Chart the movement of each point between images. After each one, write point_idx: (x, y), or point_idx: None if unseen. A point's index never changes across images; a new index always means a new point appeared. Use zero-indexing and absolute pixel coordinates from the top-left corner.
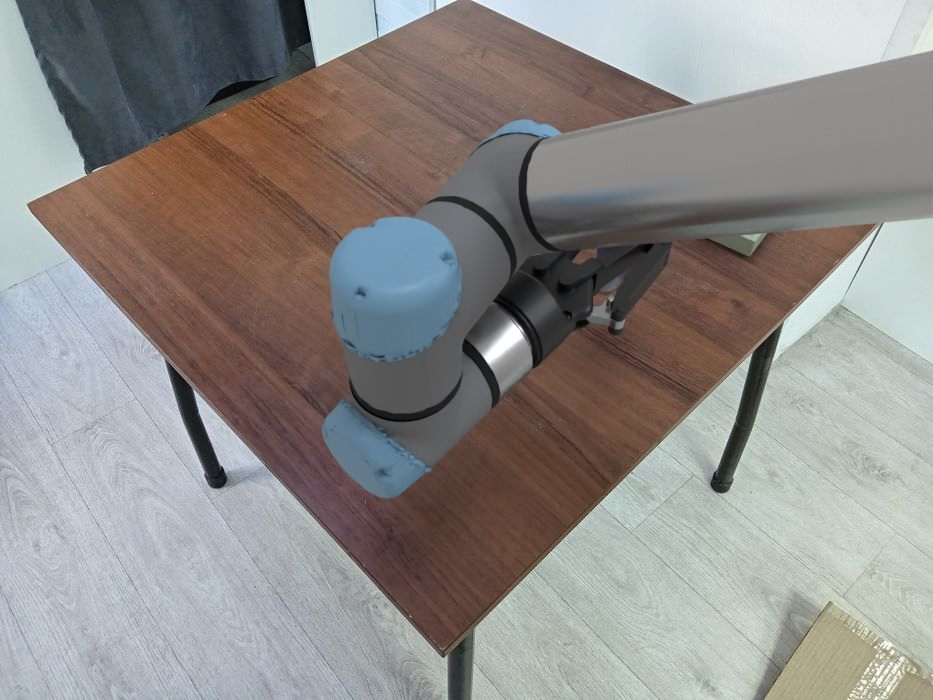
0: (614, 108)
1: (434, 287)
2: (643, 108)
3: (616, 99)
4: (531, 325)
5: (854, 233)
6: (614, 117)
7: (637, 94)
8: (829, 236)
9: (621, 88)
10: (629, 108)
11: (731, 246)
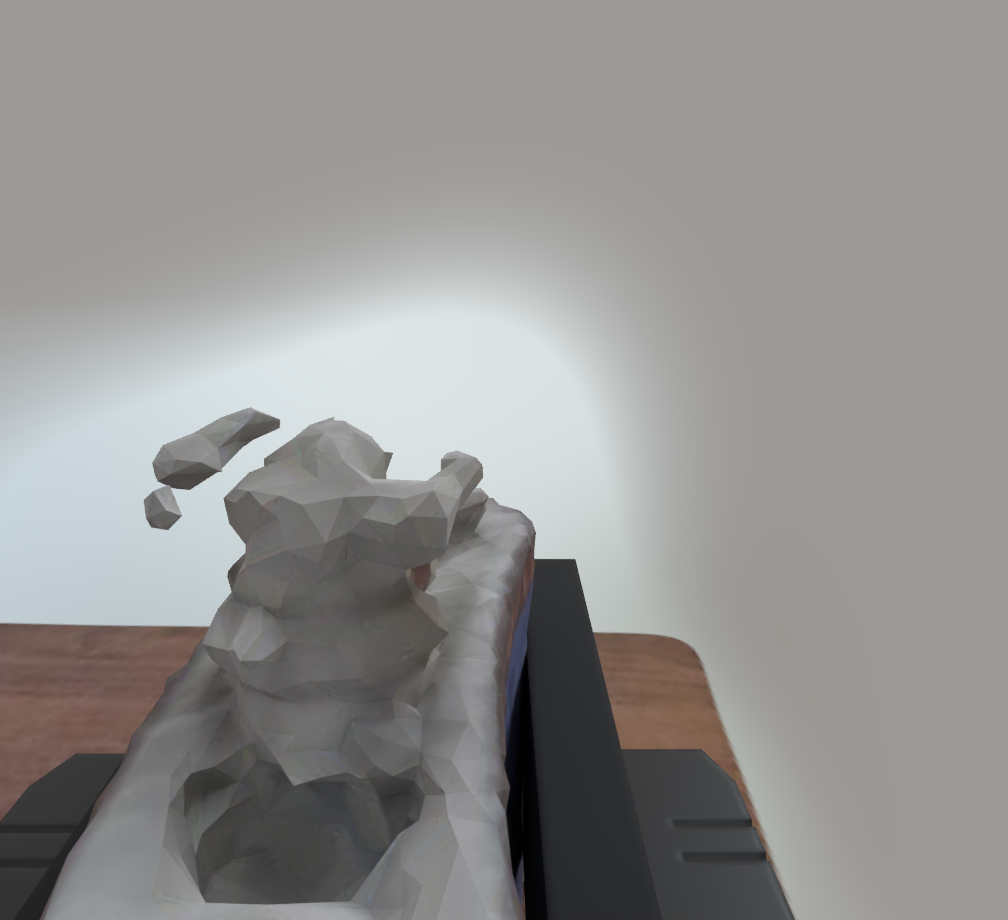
0: (8, 683)
1: None
2: (89, 658)
3: (8, 664)
4: None
5: (706, 708)
6: (14, 701)
7: (62, 639)
8: (677, 735)
9: (15, 640)
10: (51, 670)
11: (523, 874)
